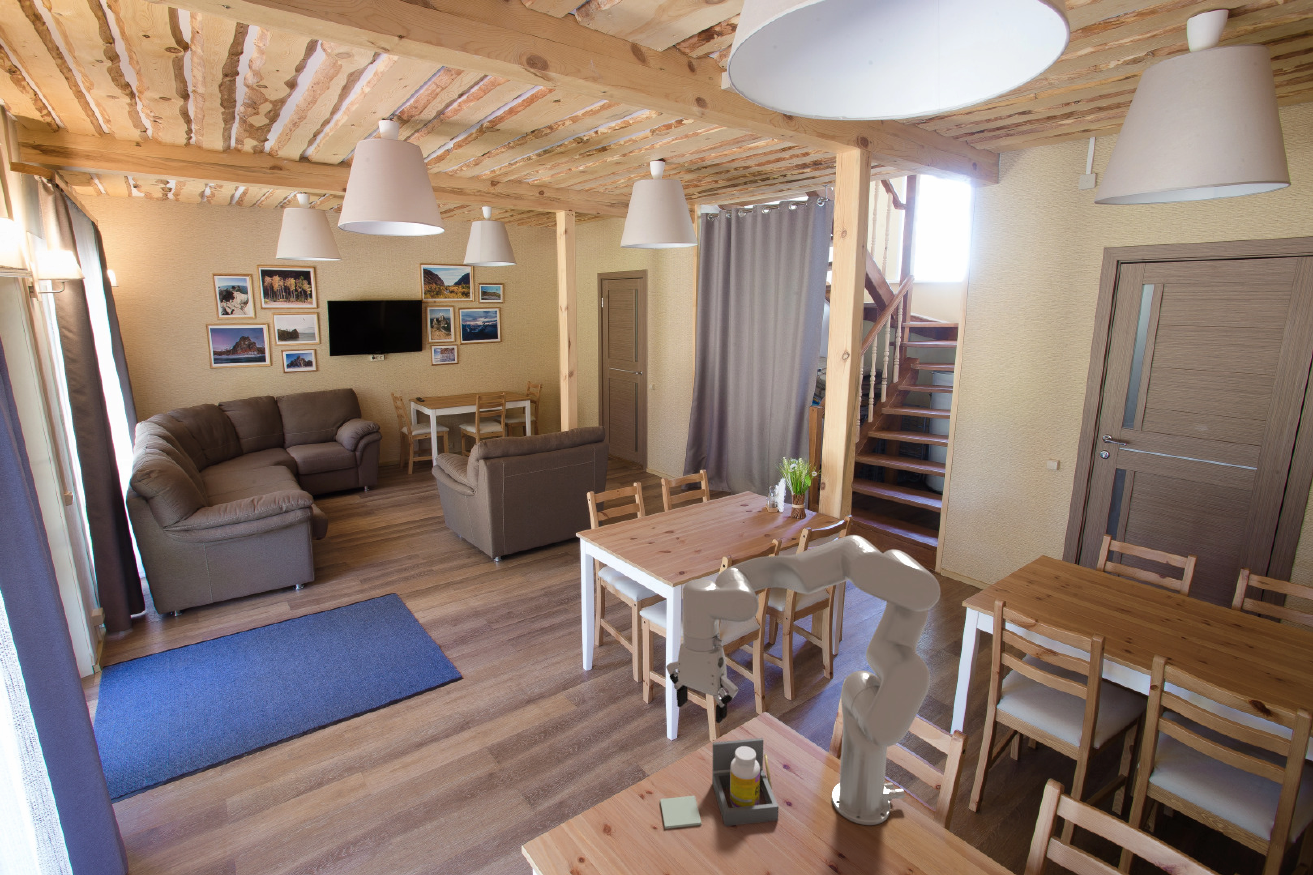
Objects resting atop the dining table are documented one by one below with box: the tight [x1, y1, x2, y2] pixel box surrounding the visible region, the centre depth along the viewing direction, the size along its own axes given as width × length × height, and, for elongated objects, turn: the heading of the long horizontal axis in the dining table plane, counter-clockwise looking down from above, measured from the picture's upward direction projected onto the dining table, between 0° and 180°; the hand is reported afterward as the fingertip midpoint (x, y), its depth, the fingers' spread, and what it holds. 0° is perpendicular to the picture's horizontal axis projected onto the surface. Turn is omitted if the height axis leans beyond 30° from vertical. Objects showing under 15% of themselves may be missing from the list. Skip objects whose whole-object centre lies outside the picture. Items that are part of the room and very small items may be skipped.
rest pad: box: [659, 795, 702, 830], centre depth 143 cm, size 8×8×1 cm
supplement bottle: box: [729, 746, 761, 808], centre depth 144 cm, size 7×7×13 cm
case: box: [711, 737, 779, 827], centre depth 145 cm, size 13×13×11 cm
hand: (701, 711), depth 137 cm, fingers open, 9 cm apart
